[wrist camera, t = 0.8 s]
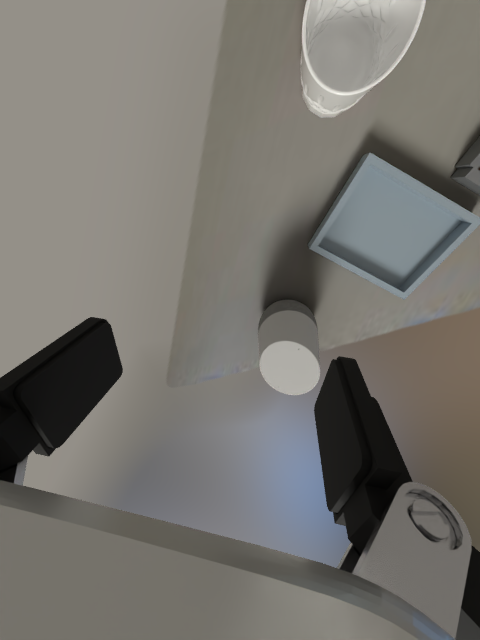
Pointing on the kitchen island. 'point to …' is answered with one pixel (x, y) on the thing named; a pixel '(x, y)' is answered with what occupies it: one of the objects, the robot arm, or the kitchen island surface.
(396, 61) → the white cup
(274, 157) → the kitchen island surface
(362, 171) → the tray
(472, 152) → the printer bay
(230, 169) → the kitchen island surface
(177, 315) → the kitchen island surface
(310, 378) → the smart speaker
